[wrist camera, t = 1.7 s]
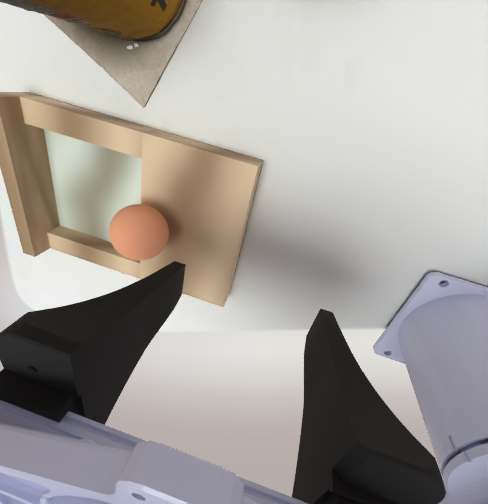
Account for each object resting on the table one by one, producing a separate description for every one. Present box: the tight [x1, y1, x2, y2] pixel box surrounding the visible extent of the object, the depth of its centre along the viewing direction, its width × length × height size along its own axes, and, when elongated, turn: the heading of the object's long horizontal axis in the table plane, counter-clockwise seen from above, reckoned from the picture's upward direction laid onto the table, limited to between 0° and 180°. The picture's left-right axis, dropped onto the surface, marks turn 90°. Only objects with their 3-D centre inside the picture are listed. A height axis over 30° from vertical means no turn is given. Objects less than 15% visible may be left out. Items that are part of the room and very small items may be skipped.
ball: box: [109, 204, 169, 260], centre depth 17 cm, size 4×4×4 cm
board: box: [0, 92, 263, 307], centre depth 19 cm, size 16×11×3 cm
